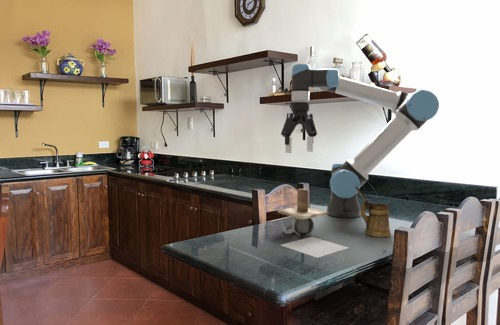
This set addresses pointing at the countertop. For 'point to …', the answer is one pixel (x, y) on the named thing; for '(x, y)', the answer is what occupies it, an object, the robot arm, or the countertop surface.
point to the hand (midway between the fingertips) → (299, 152)
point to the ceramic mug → (300, 226)
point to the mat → (314, 247)
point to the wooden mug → (375, 218)
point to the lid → (302, 207)
